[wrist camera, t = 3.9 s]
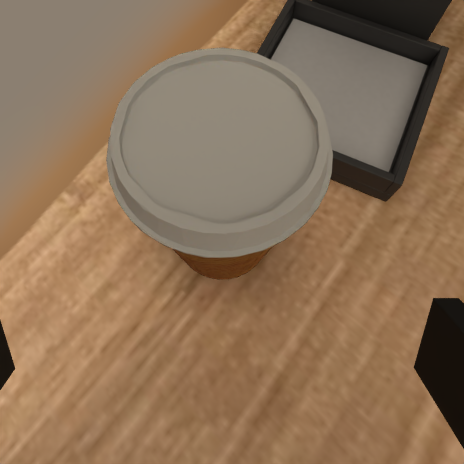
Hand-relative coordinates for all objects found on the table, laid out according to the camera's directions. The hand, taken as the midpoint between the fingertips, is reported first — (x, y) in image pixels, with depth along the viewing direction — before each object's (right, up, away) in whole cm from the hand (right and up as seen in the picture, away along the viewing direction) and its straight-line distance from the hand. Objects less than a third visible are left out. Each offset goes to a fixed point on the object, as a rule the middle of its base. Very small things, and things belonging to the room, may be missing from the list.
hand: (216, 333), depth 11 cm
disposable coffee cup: (0, +3, +15) cm, 15 cm away
